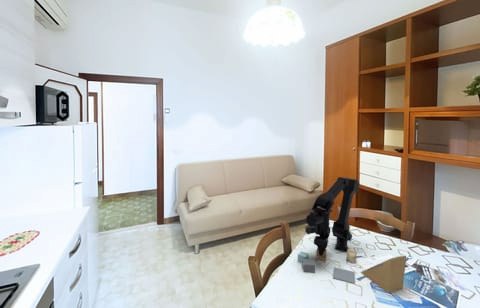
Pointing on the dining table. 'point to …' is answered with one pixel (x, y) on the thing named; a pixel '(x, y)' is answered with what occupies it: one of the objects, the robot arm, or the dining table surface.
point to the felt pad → (344, 275)
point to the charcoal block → (308, 265)
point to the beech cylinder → (351, 256)
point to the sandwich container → (388, 274)
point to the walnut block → (321, 258)
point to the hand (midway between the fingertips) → (321, 251)
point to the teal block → (302, 256)
